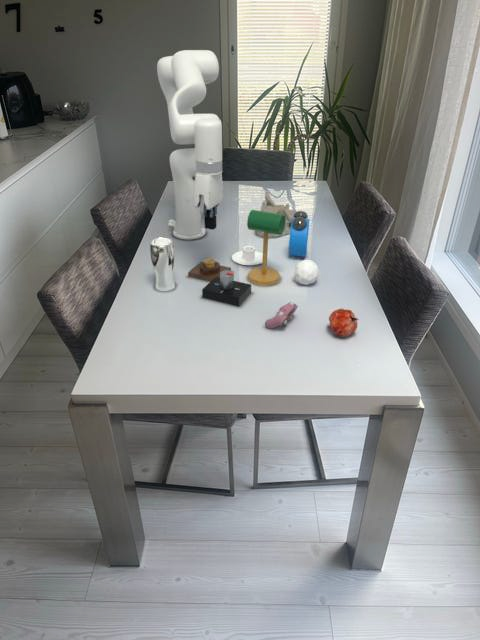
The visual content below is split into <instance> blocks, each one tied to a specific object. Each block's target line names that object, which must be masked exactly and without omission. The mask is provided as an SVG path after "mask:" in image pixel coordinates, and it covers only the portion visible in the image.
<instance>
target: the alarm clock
mask: <svg viewBox="0 0 480 640" xmlns="http://www.w3.org/2000/svg"><path fill="white" fill-rule="evenodd" d="M308 215H309V214H308V213H307V212H306V211H304V210H302V209H301V210H296V213H295V214H294V217H295V218H292V222H291V230H290V233H289V242H288V256H293V257H302V260H304V257H306V256H307V250H308V240H309V229H310V218H308V217H309V216H308Z"/></svg>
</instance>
